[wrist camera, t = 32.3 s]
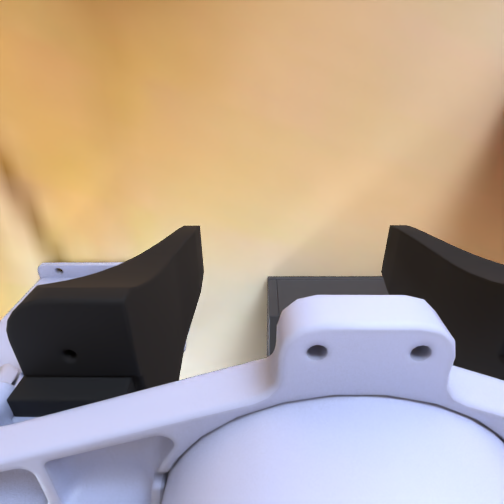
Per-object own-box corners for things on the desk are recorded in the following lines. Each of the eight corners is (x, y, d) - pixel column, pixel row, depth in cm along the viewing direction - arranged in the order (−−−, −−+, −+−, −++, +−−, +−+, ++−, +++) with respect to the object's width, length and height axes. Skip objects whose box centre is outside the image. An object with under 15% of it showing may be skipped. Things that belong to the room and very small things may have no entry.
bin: (266, 381, 31) (267, 428, 27) (267, 276, 26) (269, 316, 22) (392, 382, 31) (411, 429, 27) (417, 276, 26) (445, 316, 22)
